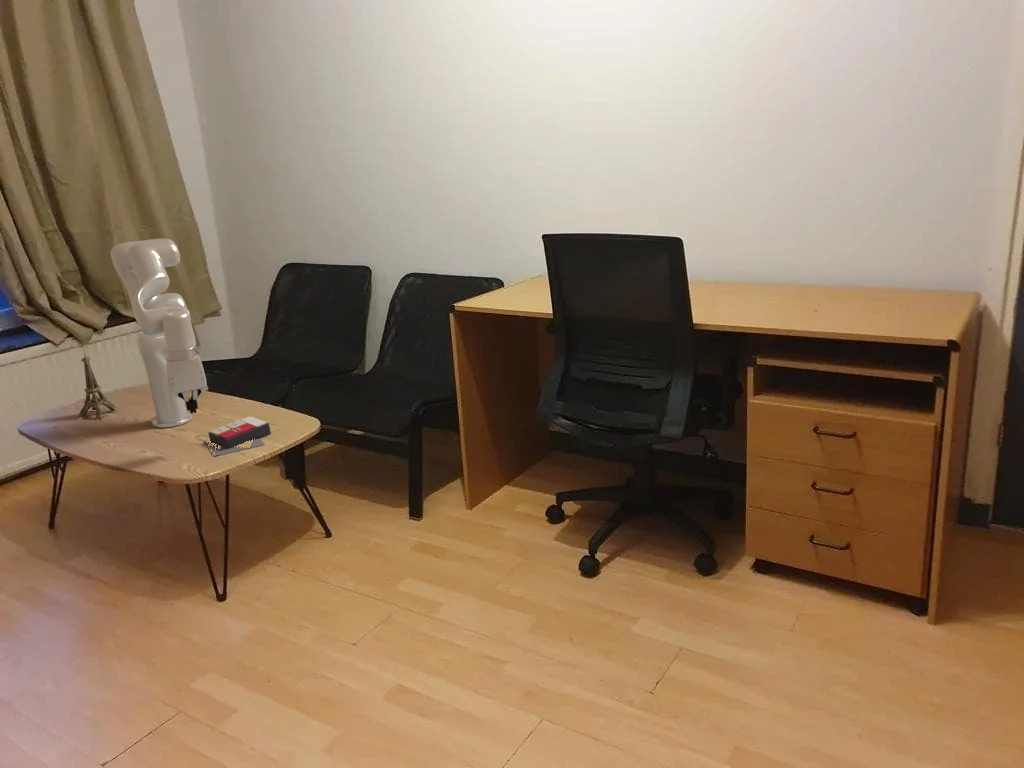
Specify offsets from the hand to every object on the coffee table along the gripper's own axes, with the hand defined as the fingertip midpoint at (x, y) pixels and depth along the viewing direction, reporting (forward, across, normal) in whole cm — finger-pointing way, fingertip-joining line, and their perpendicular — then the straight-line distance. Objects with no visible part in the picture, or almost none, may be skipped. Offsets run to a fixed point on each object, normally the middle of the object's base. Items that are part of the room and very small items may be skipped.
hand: (192, 411), depth 240 cm
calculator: (+12, -12, 0) cm, 17 cm away
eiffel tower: (+16, +24, -58) cm, 65 cm away
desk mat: (+12, -10, +2) cm, 15 cm away
